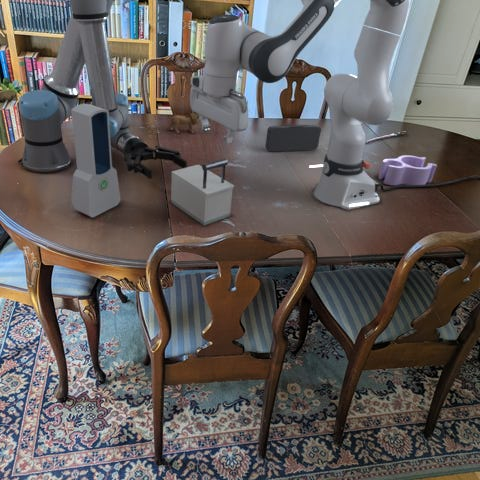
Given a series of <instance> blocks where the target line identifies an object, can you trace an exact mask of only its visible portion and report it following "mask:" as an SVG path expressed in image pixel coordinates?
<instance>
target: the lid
mask: <svg viewBox="0 0 480 480" xmlns="http://www.w3.org/2000/svg"><path fill="white" fill-rule="evenodd" d="M228 164H229V162H228V159H227V158H222V159H218V160H215V161H210V162H207V163H203V164H202V165H200V164H195V165H191V166H187V168H180V169H176V170H172V171H171V175H172V174H173V175H174V176H176V177H177V178H179V179H180V180H182V181H183V182H185V183H187V184H188V185H190V186H191V187H193V188H194V189H196V190H197V191H199V192H201V193H202V194H204V195H205V196H210V195H213V194H217V193H220V192H223V191H226V190H229V189H232V188H233V189H234V188H235V185H234V184H232V183H231V182H229V181H227V180H226V179H225V178H226V167H227V166H228ZM219 168H221V177H220V176H219V175H217V174H216V173H214V172H212V170H214V169H219ZM233 189H232V190H233Z"/></svg>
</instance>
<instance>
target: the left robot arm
mask: <svg viewBox="0 0 480 480" xmlns="http://www.w3.org/2000/svg"><path fill="white" fill-rule="evenodd" d="M115 1H116V0H69V4H70V9H71V14H70V17H69V20H68V23H67V26H66V29H65V32H64V35H63V39H62V41H61V44H60V47H59V50H58V53H57V55H56V59H55V62H54V64H53V68H52V71H51V72H50V73H51V74H48V75H46V76H45V77H44V78H43V82H42V84H41V88H40V89H35V90H31V91H27V92H24V93H22V95H20V97H19V99H18V111H19V114H20V119H21V126H22V132H23V136H24V148H23V153H22V157H20V159H18V161H17V163H18V164H20V163H22V166H23V168H24V169H25V170H27V171H29V172H33V173H39V174H46V173H56V172H61V171H63V170H66V169H67V168H69V167H70V166H71V163H72V159H71V155H70V153H69V151H68V150H67V149H68V148H67V147H66V144H65V143H64V140H63V132H62V124H64V123H65V121H66V120H67V119H69V118H70V117H72V115H71V110H72V109H73V108H74V107H75V106H77V105H78V97H79V94H80V89H79V87H78V84H79V80H80V78H81V76H82V72H83V70H84V68H85V69H86V74H87V79H88V80H87V81H88V85H89V91H90V94H91V101H92V105H93V106H96V107H99V108H102V109H105V110H108V111H109V125H110V142H111V148H114V149H115V150H117V151H119V152H120V153H122V154H123V161H124V162H125V163H126V168H127V172H132V171H133V173H134V174H138V173H139V174H142V175H143V176H144V177H146V178H148V179H150V180H151V179H152V178H153V170H152V169H151V168H149V167H147V166H146V165H145V164H143V163H142V162H143V161H148V160H152V161H153V160H154V161H157V160H164V161H171V162H172V163H173V164H175V165H177V166H179V167H180V168H181V169H183V168H187V167H188V166H187V164H188V161H187V160H185V159H184V158H183V157H181V151H178V150H174V149H169V148H166V147H163V146H159V145H155V147H154V148H153V147H149V145H148V143H147V142H146V141H144V140H142V139H141V138H139V137H138V136H136V135H134V134H132V133H131V132H130V108H129V107H130V105H129V97H128V96H127V95H126V94H124V93H119V92H118V93H117V92H116V87H115V86H116V85H115V80H114V77H113V75H114V74H113V68H112V66H113V65H112V64H111V60H112V59H111V58H110V56H111V54H110V48H109V42H108V36H107V29H106V23H105V22H106V21H107V19H108V17H109V15H110V12H111V9H112V6H113V4H114V2H115ZM110 59H111V60H110ZM111 65H112V66H111ZM132 161H133V163H132Z"/></svg>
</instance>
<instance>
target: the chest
mask: <svg viewBox="0 0 480 480" xmlns="http://www.w3.org/2000/svg"><path fill="white" fill-rule="evenodd" d="M170 184H171V189H170V190H171V191H170V192H171V193H170V203H171V204H172V205H174V206H175V207H177V208H178V209H180V210H181V211H182V212H184V213H186V214H187V215H188V216H189V217H191V218H193V219H194V220H195V221H197V222H198V223H199V224H201V225H202V226H206V225H209V224H212V223H215V222H217V221H221V220H223V219H225V218H229V217H230V216H231V209H232V200H233V199H232V198H233V189H234V188H232V189H229V190H226V191H223V192H220V193H217V194H213V195H210V196H205V195H204V194H202V193H201V192H199V191H197V190H196V189H194V188H193V187H191V186H190V185H188V184H187V183H185V182H183V181H182V180H180V179H179V178H177V177H176V176H174V175H173V174H172V173H171V183H170Z"/></svg>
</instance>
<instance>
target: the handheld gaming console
mask: <svg viewBox="0 0 480 480" xmlns="http://www.w3.org/2000/svg"><path fill="white" fill-rule="evenodd" d="M321 133H322V127H321V126H319V125H318V124H292V125H291V124H290V125H289V124H286V125H285V124H284V125H283V124H281V125H270V126H268V127H267V130H266V139H265V145H264V146H265V150H267V151H268V152H289V151H290V152H292V151H294V152H295V151H312V150H317V148H318V147H319V144H320V137H321Z"/></svg>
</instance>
